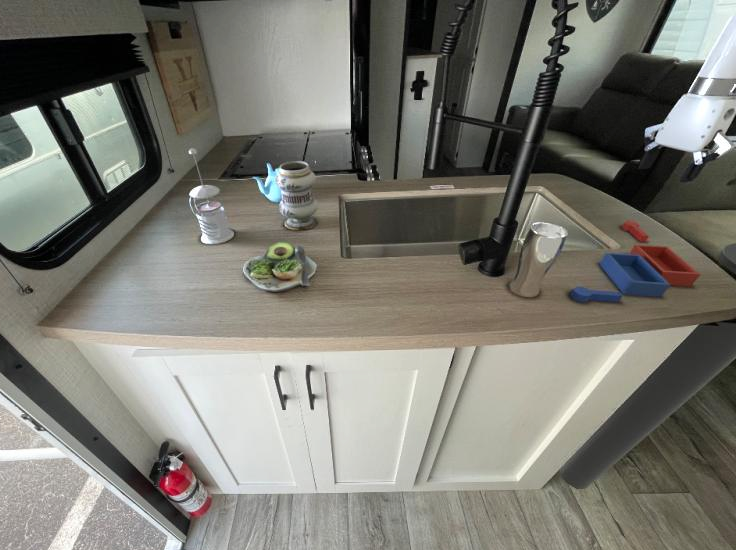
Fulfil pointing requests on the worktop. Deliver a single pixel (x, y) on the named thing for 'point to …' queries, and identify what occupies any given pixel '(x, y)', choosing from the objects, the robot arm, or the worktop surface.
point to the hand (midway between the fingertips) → (663, 174)
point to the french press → (210, 213)
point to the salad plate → (280, 268)
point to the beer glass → (537, 257)
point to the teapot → (270, 185)
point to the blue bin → (634, 275)
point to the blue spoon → (594, 295)
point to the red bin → (667, 264)
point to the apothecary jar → (297, 194)
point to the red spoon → (635, 230)
